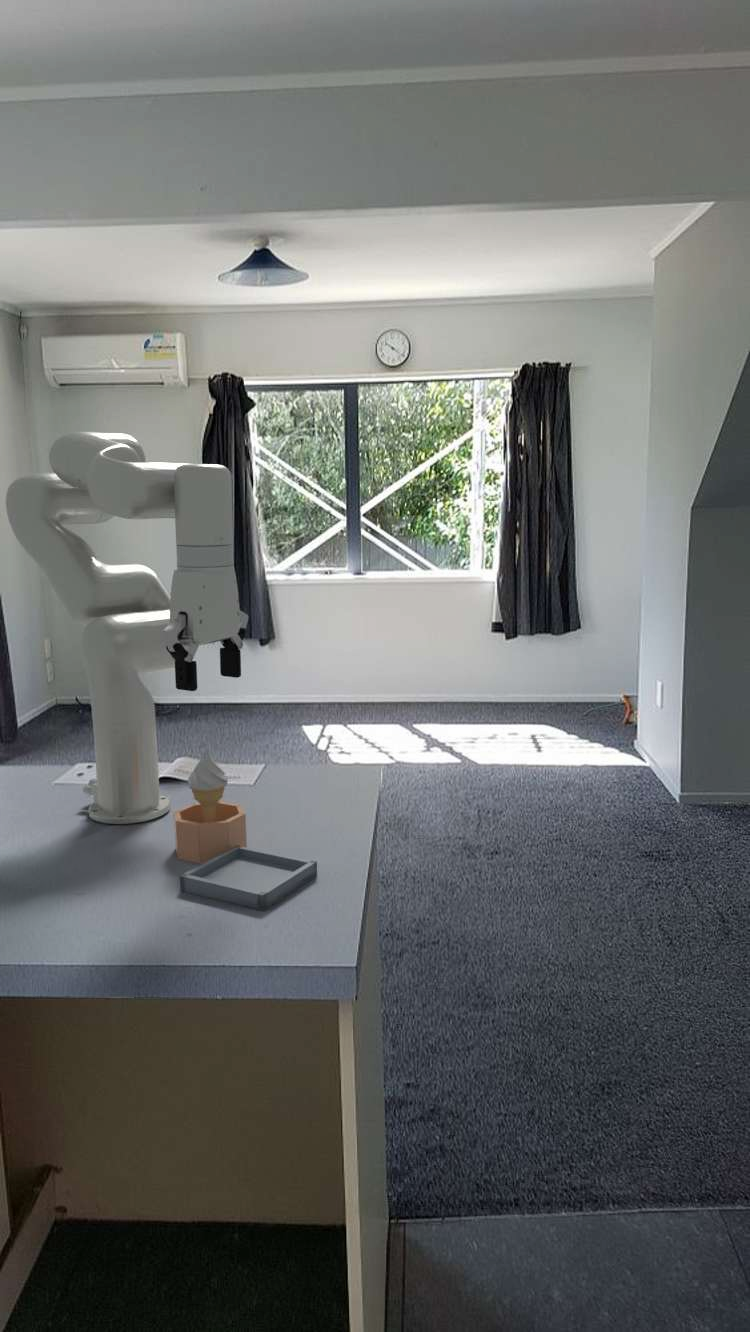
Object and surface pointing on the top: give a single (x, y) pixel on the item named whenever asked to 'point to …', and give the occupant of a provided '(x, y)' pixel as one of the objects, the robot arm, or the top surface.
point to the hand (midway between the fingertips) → (209, 682)
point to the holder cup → (208, 831)
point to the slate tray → (249, 877)
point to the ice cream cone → (208, 785)
